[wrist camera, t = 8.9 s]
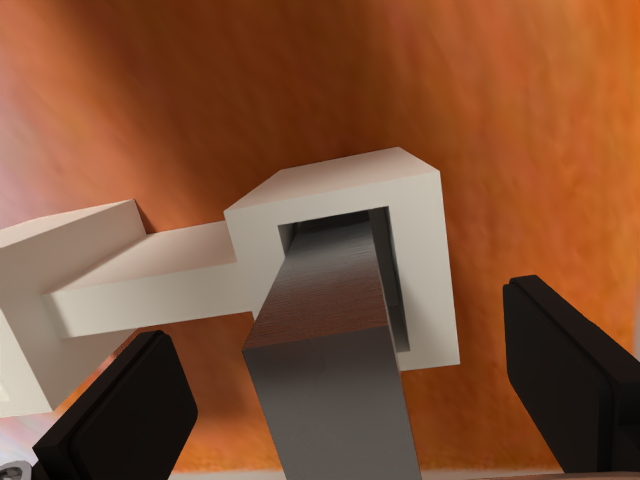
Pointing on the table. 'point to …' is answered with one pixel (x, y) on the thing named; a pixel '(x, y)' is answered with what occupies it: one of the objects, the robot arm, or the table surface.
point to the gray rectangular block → (332, 360)
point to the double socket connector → (212, 271)
